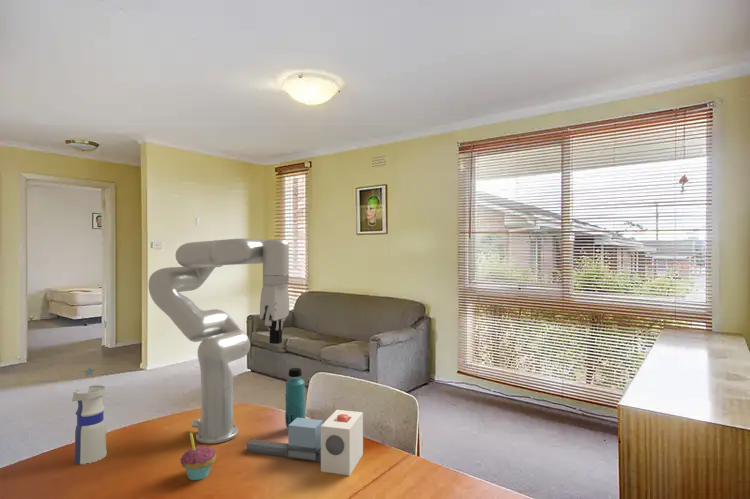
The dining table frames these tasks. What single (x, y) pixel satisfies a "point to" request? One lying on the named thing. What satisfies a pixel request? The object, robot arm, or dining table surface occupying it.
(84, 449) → the cream tall piece
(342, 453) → the cabinet
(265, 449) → the rail
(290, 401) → the beverage bottle
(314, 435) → the carriage
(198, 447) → the cupcake
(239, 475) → the dining table surface
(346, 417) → the button
